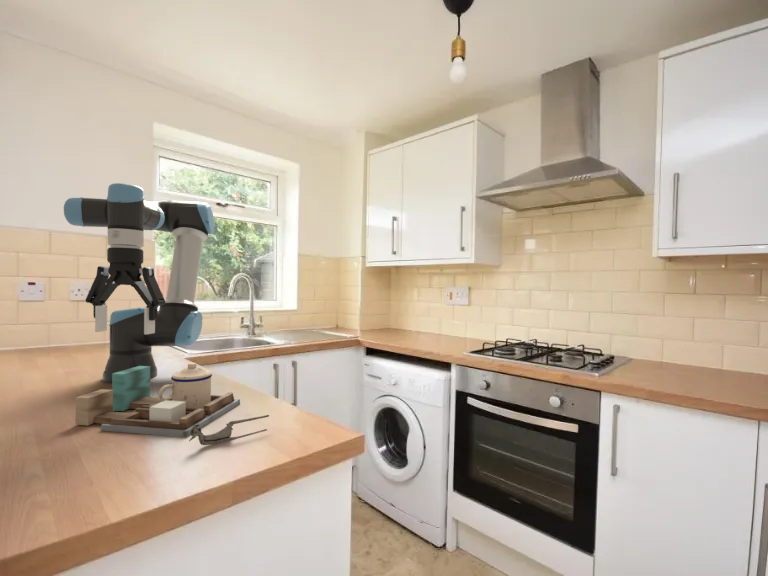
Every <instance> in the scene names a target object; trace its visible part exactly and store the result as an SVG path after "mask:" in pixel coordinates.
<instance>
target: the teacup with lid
mask: <svg viewBox="0 0 768 576" xmlns="http://www.w3.org/2000/svg"><path fill="white" fill-rule="evenodd" d="M212 376H213V374H212V372H211V371H210V370H207V369H205V368H203V367H200V366H198V365H197V363H196V362H192V363H187V366H186V367H184V368H183V369H181V370H179V371H176V372H174V373H173V374H172V376H171V382H172V383H168V384H164V385H163V386H162V387H160V389H159V390H158V394H157V396H158V398H159V400H160V401H161V402H163V401H164V399H163V398H164V397H163V394H164V393H163V392H164V391H165V390H168V389H169V388H171V389H172V391H171V395H172V401H184V402H186V408H192V409H198V408H200V409H204V405H206V404H208V403H210V402H211V395H212Z"/></svg>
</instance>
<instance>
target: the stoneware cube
mask: <svg viewBox="0 0 768 576" xmlns="http://www.w3.org/2000/svg"><path fill="white" fill-rule="evenodd" d="M185 415H186V402H184V401H169V400H165V401H163V402H160V403H158V404H156V405H154V406H151V407H150V409H149V418H148V419H149V421H163V422H176V423H179V419H180V418H182V417H184V416H185Z"/></svg>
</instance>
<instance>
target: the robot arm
mask: <svg viewBox="0 0 768 576" xmlns="http://www.w3.org/2000/svg"><path fill="white" fill-rule="evenodd" d="M145 199H146V198H145V193H144V189H143V188H142V187H140V186H138V185H135V184H129V183H123V182H122V183H119V182H118V183H117V182H116V183H111V184H109V185H108V188H107V196H106V198H92V197H69V198H68V199H67V200H66V201H64V205H63V214H64V215H63V216H64V218H65V220H66V221H67V222H68V223H69V224H70V225H72V226H76V227H82V228H85V227H89V228H91V227H92V228H93V227H94V228H95V227H96V228H107V245H108V246H109V247H108V248H107V249H106V252H107V253H106V259H107V262H108V263H109V266H103V265H102V266H98V267H97V269H96V275H95V278H94V279H93V281H92V284H91V286H90V289H89V291H88V293H87V295H86V298H85V302H86V303H87V304H88V303H90V304H91V305H92V306H93V319H94V321H95V322H94V324H95V326H94V333H100V332H106V331H108V326H109V356H108V359H107V363H106V365H105V368H104V371H103V373H102V382H103V383H107V384H112V374H113V373H116V372H120V371H123V370H127V369H130V368H134V367H137V366H150V380H151V379H154V378H156V377H157V376H158V368H157V366H156V362H155V359H154V356H153V353H152V347H188V346H193V345H194V344H196V342H197V341H198V339H199V337H200V335H201V332H202V328H203V314H202V312H200V311H198V310H199V307H198V306H197V305H196V303H195V297H196V290H197V282H198V274H199V269H200V262H201V261H200V259H201V253H202V248H203V246H202V245H203V243H204V242H206V241H207V240H208V238H209V237H208V235H213V234H214V232H215V218H214V214H213V210H212V207H211V206H210V205H209V203H207V202H202V201H198V200H196V201H189V200H187V201H186V200H184V201H183V200H169V199H168V200H167V199H163V200H162V199H161V200H148V201H147V200H145ZM144 230H145V231H159V232H163V233H164V232H166V233H172V235H173V237H174V238H175V244H174V249H173V255H172V261H171V267H170V268H171V269H170V274H169V280H168V286H167V291H166V299H165V298H164V295H163V292H162V291H161V288H160V285H159V284H158V281H157V279H156V277H155V270H154V269H155V268H153V267H148V266H147V267H145V266H144V267H142V264H144V250H143V249H142V248H143V247H144V246H145V245H144V244H145V243H144V232H145V231H144ZM141 276H142V277H141ZM121 285H124V286H131V287H133V288H134V290H135V291H136V292H137V295H139V297H140V298H141V299H142V300H143V302H144V303H145V305H146V306H144V307H134V308H126V309H118V310H114V311H112V312H111V313H110V318H109V325H108V305H107V303H106V302H107V301H108V300H109V298H110V297H111V295H112V294H113V293H114V292H115V290H116V289H117V288H118V287H119V286H121ZM158 309H159V310H158Z"/></svg>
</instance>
